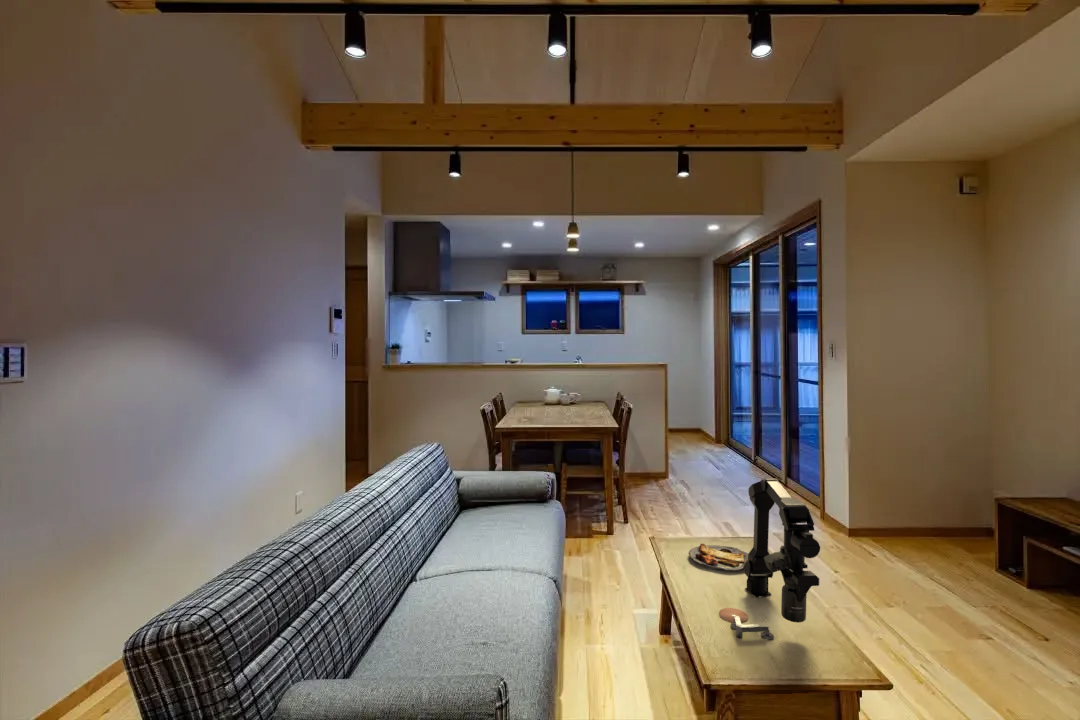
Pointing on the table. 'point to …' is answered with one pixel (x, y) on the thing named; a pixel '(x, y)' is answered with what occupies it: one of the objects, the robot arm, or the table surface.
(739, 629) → the jointed grey bar linkage
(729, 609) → the peach domed disc
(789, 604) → the supplement bottle
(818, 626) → the table surface
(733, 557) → the food plate
